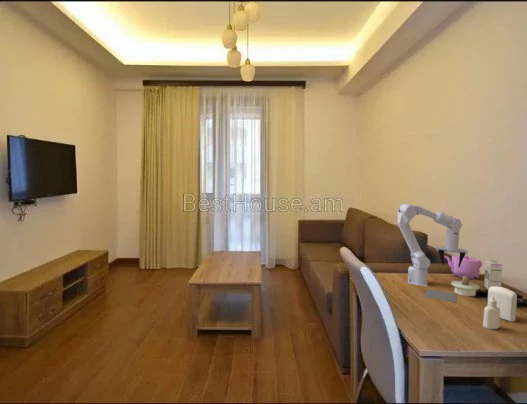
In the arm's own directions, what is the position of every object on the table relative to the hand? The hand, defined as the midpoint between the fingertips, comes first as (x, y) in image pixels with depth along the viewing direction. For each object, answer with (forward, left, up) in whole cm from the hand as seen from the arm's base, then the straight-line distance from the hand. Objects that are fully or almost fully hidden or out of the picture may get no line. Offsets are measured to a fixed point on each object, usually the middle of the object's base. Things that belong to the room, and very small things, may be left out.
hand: (451, 265), depth 180 cm
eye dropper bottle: (+16, -50, -11) cm, 54 cm away
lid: (+7, -13, -6) cm, 16 cm away
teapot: (+5, +21, -11) cm, 24 cm away
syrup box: (+19, +4, -11) cm, 22 cm away
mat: (-3, -23, -10) cm, 25 cm away
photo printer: (+20, -36, -11) cm, 43 cm away
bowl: (+7, -12, -10) cm, 17 cm away
